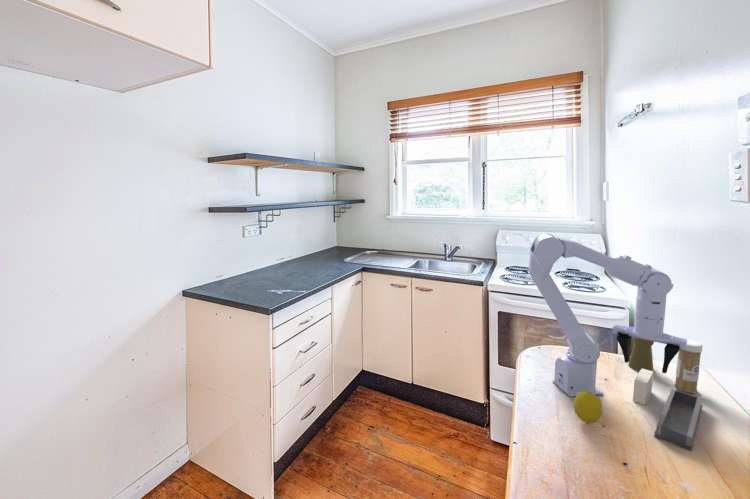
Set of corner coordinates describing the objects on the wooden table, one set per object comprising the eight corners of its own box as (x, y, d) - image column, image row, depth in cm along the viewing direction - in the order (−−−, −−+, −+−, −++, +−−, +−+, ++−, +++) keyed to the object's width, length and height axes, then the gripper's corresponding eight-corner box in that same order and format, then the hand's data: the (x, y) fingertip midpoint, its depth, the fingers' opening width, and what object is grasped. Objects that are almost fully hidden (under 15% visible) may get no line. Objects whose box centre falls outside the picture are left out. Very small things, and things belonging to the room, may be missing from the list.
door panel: (644, 405, 84) (647, 383, 83) (632, 401, 86) (634, 379, 85) (651, 392, 89) (653, 371, 88) (639, 388, 91) (641, 368, 90)
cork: (658, 372, 98) (662, 337, 97) (638, 373, 99) (641, 337, 97) (642, 362, 104) (645, 329, 103) (623, 363, 105) (626, 329, 103)
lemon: (601, 434, 74) (603, 401, 73) (572, 426, 77) (574, 394, 76) (600, 419, 79) (602, 388, 78) (573, 412, 82) (575, 382, 80)
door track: (691, 451, 68) (693, 438, 68) (654, 436, 73) (655, 424, 72) (701, 409, 81) (703, 397, 81) (669, 398, 86) (670, 388, 85)
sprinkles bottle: (691, 395, 87) (697, 347, 85) (670, 387, 91) (675, 340, 89) (700, 391, 89) (706, 343, 87) (679, 382, 93) (684, 337, 91)
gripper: (690, 318, 81) (685, 370, 83) (619, 306, 92) (615, 352, 94) (686, 326, 77) (681, 381, 79) (612, 312, 87) (608, 360, 89)
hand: (645, 366), depth 86 cm, fingers open, 7 cm apart
